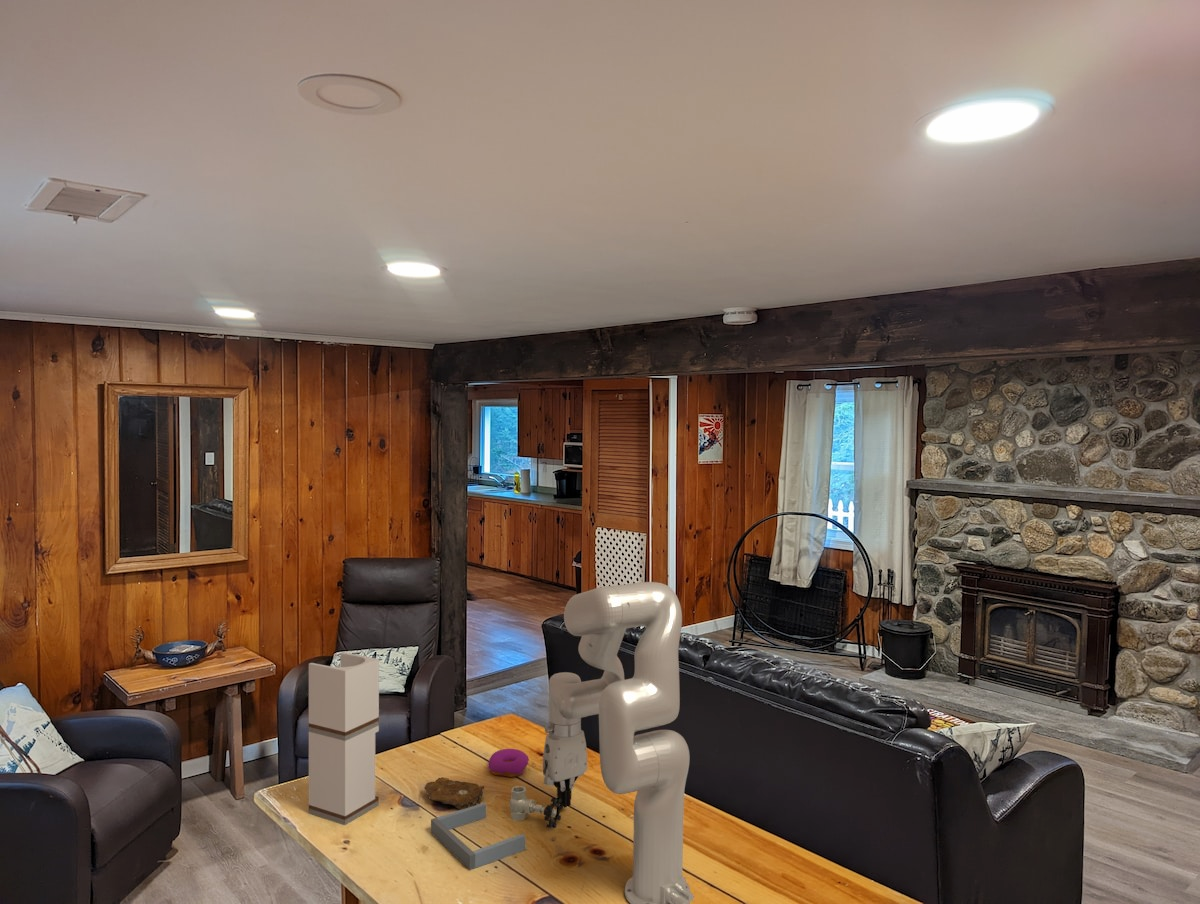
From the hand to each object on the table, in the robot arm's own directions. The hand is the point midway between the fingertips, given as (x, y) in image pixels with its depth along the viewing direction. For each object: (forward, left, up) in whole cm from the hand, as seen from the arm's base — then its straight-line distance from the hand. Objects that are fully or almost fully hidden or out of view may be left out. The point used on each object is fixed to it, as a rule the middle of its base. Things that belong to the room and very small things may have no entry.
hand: (564, 804), depth 185 cm
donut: (+27, -1, -2) cm, 27 cm away
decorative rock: (+21, +18, -2) cm, 28 cm away
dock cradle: (0, +22, -2) cm, 22 cm away
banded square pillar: (+31, +41, -2) cm, 52 cm away
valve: (0, +8, -2) cm, 9 cm away
